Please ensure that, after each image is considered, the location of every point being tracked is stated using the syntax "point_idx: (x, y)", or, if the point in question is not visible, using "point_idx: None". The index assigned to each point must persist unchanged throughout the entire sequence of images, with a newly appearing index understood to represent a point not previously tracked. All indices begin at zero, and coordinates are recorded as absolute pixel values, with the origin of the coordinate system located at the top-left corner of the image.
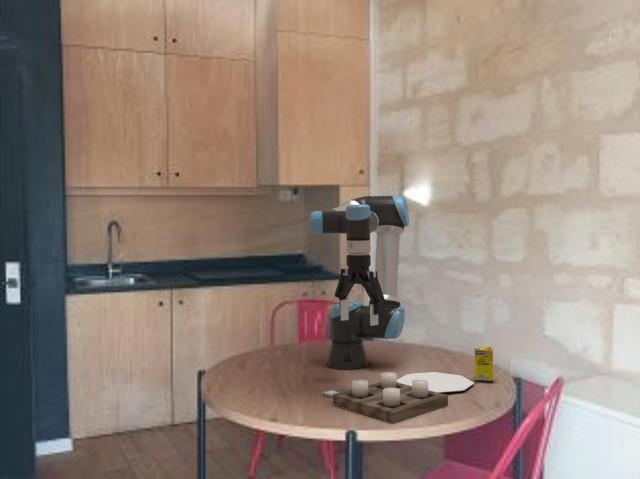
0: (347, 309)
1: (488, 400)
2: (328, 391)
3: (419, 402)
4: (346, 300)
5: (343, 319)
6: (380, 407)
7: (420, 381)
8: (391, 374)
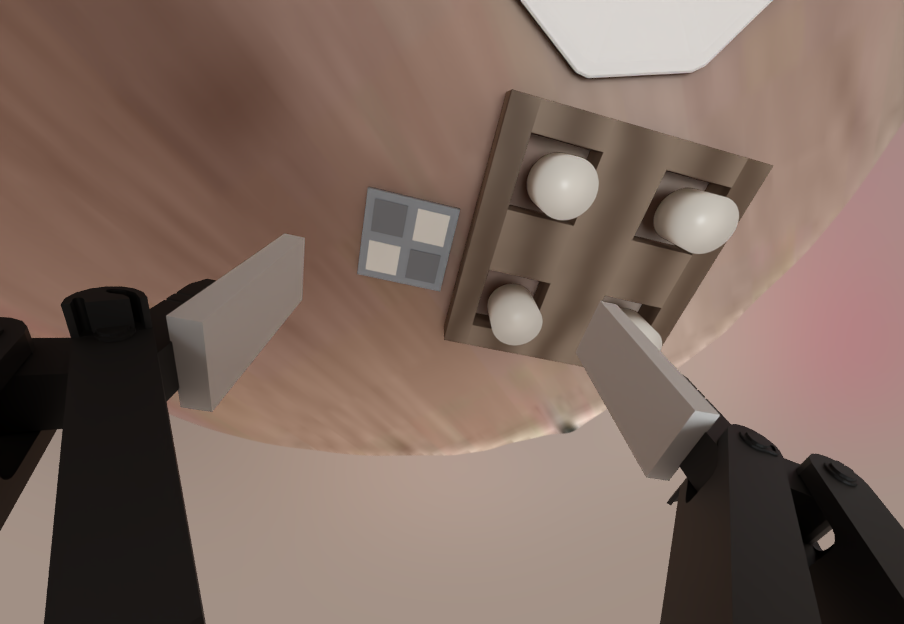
0: (266, 281)
1: (901, 14)
2: (369, 255)
3: (690, 282)
4: (210, 345)
5: (300, 293)
6: None
7: (709, 223)
8: (580, 189)
